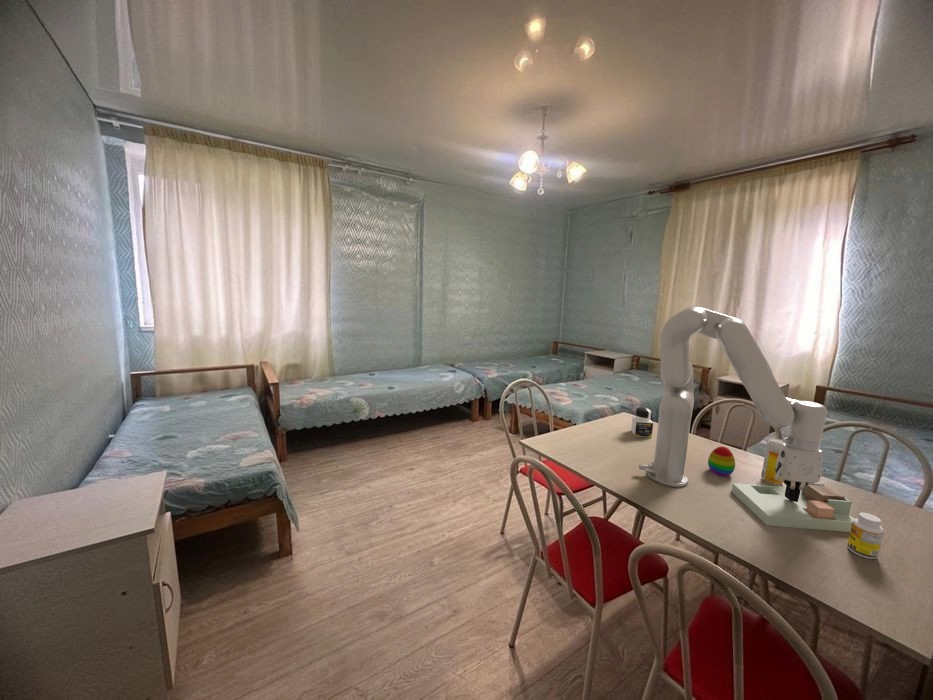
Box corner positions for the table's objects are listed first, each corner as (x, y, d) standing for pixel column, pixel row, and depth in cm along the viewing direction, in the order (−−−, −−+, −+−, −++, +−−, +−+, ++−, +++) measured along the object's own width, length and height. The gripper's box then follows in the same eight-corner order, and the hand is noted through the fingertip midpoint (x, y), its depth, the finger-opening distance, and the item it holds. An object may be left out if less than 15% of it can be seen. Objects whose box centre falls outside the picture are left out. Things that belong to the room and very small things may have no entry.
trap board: (766, 525, 110) (770, 503, 108) (731, 491, 127) (734, 471, 126) (859, 532, 107) (864, 510, 106) (809, 497, 125) (813, 477, 123)
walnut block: (819, 509, 113) (822, 495, 112) (804, 497, 119) (806, 484, 118) (841, 510, 112) (844, 496, 111) (825, 499, 118) (828, 485, 117)
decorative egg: (738, 479, 135) (743, 452, 134) (715, 478, 136) (719, 451, 134) (724, 467, 143) (728, 442, 142) (702, 466, 144) (705, 441, 142)
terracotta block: (814, 527, 109) (818, 508, 108) (804, 518, 113) (808, 500, 112) (830, 528, 109) (834, 509, 108) (819, 519, 113) (823, 501, 112)
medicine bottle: (634, 436, 171) (637, 410, 169) (630, 430, 178) (633, 405, 175) (651, 437, 170) (654, 412, 167) (647, 431, 176) (649, 406, 174)
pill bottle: (786, 487, 131) (794, 445, 128) (766, 484, 132) (773, 444, 129) (776, 478, 136) (783, 438, 134) (757, 476, 138) (764, 436, 135)
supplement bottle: (845, 542, 103) (853, 507, 101) (875, 551, 100) (884, 516, 98) (847, 553, 99) (855, 517, 97) (878, 563, 95) (888, 526, 94)
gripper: (784, 446, 110) (773, 504, 114) (841, 450, 109) (827, 508, 112) (767, 436, 118) (757, 490, 121) (819, 439, 116) (808, 494, 120)
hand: (791, 499), depth 117 cm, fingers closed
